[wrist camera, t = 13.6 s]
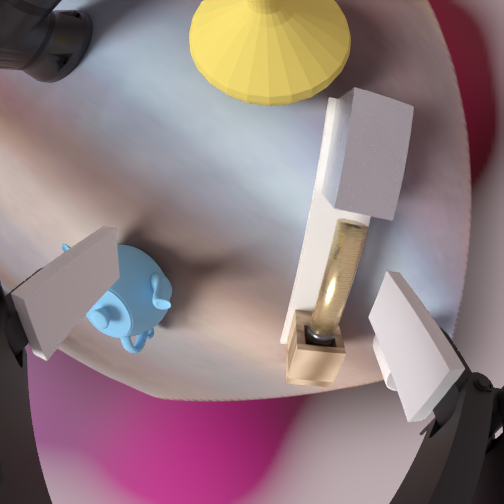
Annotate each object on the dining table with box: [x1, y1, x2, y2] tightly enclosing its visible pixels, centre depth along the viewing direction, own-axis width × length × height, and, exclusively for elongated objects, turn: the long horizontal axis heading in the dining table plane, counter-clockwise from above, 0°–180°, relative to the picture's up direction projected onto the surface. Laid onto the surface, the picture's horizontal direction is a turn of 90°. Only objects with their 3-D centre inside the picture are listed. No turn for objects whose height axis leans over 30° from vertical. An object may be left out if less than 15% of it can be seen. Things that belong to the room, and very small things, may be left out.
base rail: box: [280, 97, 371, 344], centre depth 40 cm, size 9×40×1 cm, turn 172°
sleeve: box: [321, 87, 414, 221], centre depth 30 cm, size 7×13×10 cm, turn 172°
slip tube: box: [305, 218, 368, 347], centre depth 36 cm, size 20×4×4 cm, turn 172°
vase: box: [189, 0, 351, 106], centre depth 22 cm, size 18×18×19 cm
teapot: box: [61, 244, 172, 353], centre depth 41 cm, size 17×19×12 cm
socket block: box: [286, 310, 346, 387], centre depth 41 cm, size 7×7×10 cm
